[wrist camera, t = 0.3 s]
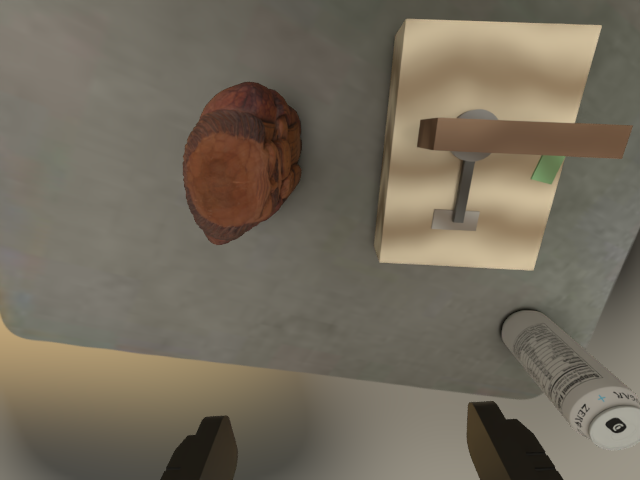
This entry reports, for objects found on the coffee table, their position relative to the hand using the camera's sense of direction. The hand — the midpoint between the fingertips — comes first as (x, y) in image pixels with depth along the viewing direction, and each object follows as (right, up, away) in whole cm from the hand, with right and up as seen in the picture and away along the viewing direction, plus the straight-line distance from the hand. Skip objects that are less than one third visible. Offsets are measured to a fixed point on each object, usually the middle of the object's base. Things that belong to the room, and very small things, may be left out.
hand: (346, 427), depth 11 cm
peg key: (+13, +13, +19) cm, 27 cm away
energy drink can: (+25, -5, +31) cm, 40 cm away
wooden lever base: (+14, +16, +24) cm, 32 cm away
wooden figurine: (-6, +16, +25) cm, 30 cm away
